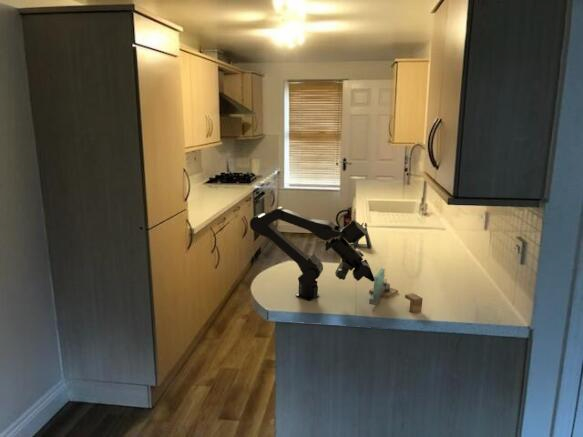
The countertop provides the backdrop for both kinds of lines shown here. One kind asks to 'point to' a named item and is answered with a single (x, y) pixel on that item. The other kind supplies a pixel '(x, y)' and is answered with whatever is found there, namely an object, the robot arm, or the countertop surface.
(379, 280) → the link
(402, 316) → the countertop surface
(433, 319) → the countertop surface
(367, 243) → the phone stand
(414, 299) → the block
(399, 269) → the countertop surface
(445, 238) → the countertop surface
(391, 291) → the pintle block
